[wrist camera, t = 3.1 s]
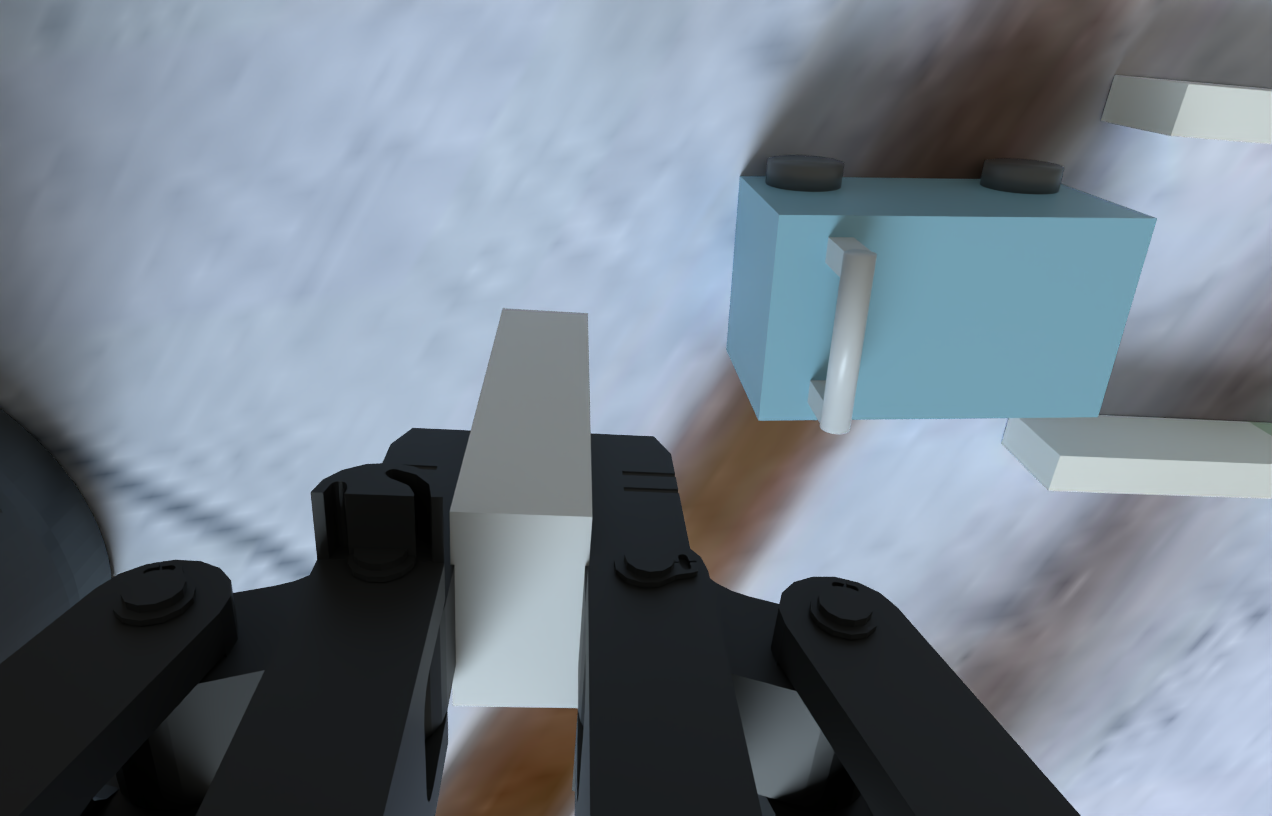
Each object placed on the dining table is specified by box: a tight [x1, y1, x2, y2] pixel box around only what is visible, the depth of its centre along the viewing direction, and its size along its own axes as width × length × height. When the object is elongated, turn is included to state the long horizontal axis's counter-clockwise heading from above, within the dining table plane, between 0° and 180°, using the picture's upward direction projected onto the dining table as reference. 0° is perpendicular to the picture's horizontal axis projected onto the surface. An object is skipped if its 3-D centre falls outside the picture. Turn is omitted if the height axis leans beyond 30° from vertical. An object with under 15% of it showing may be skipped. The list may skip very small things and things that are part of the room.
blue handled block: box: [726, 155, 1157, 434], centre depth 22 cm, size 9×6×7 cm
